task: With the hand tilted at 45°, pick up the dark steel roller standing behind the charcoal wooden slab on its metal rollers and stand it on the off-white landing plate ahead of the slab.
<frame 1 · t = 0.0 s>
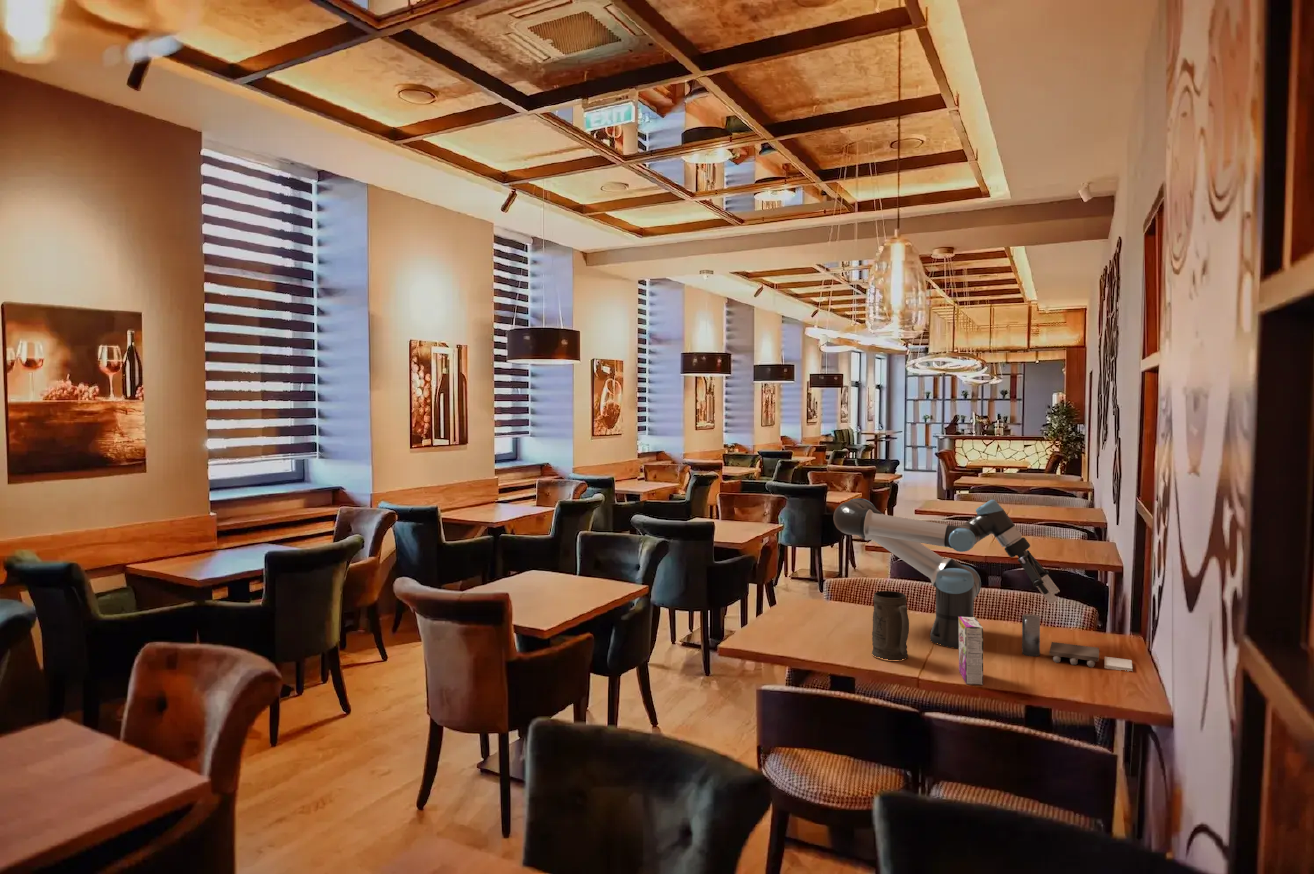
hand: (1055, 597, 252), 15 cm above the table, tool tilted 35°, fingers open, 13 cm apart
roller slab: (1074, 659, 236), on the table
candy bar box: (970, 679, 220), on the table
beer stein: (894, 659, 239), on the table
landing plate: (1118, 665, 230), on the table
steel roller: (1030, 654, 242), on the table
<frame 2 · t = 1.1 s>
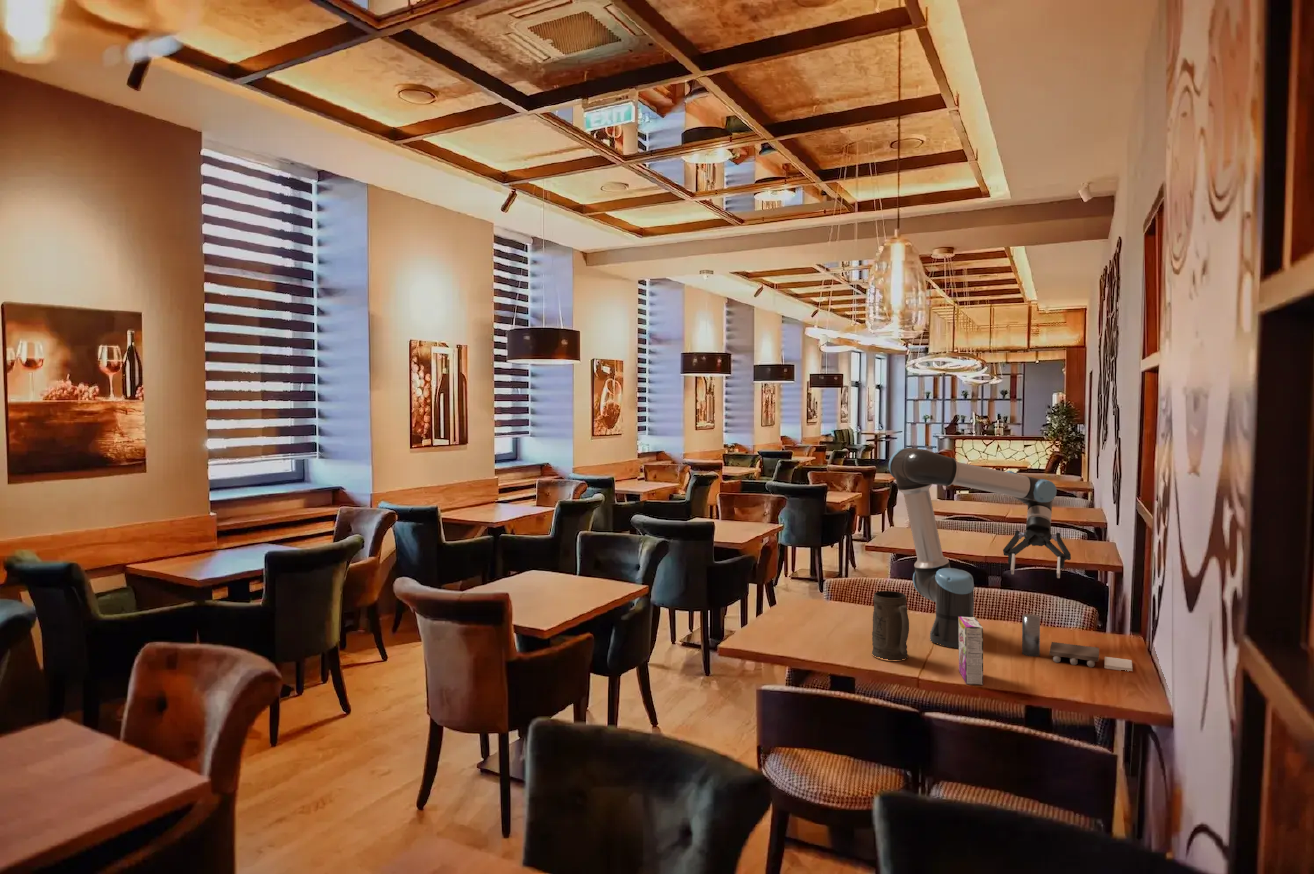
hand: (1034, 573, 253), 23 cm above the table, tool tilted 45°, fingers open, 13 cm apart
nothing on the table moved.
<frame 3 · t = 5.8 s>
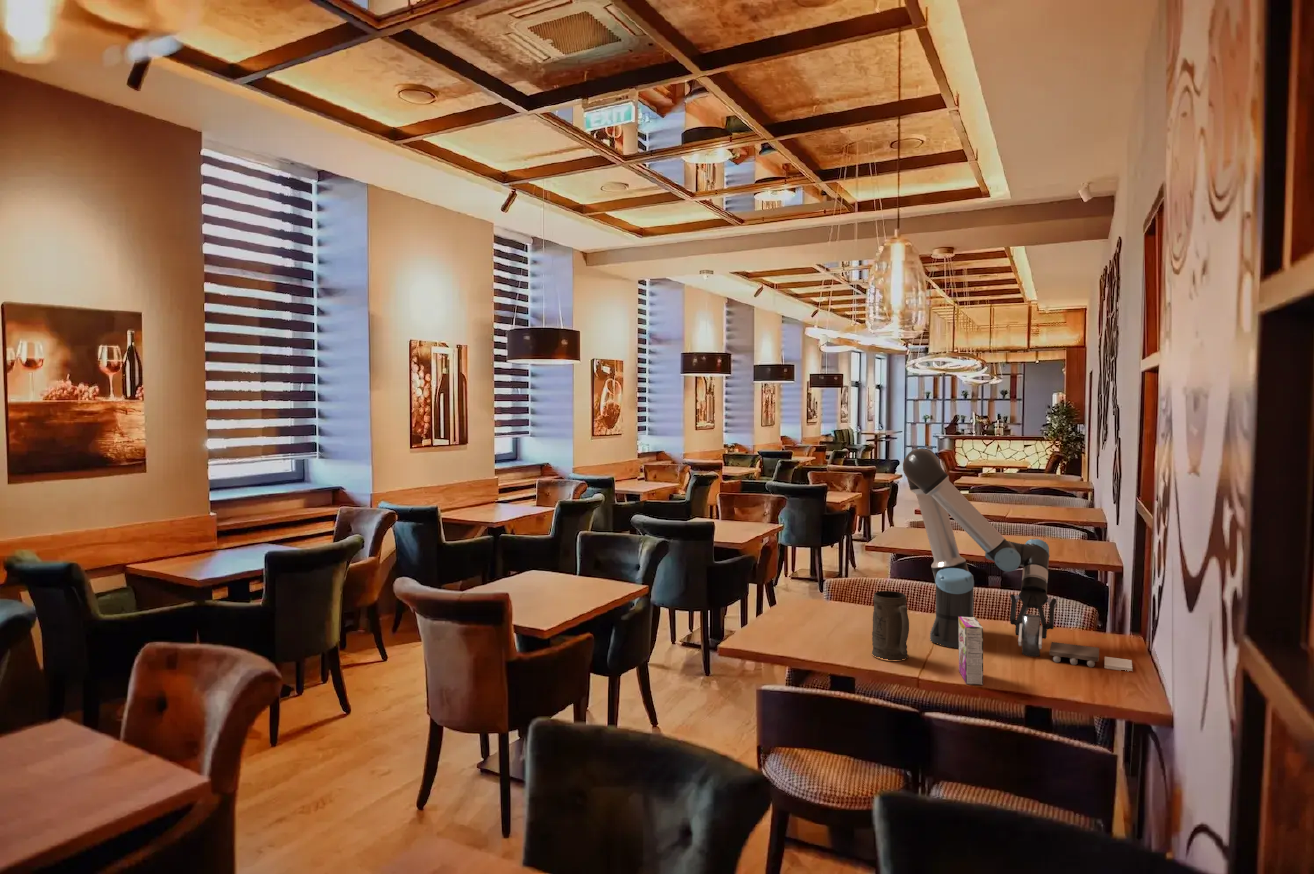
hand: (1029, 645, 239), 4 cm above the table, tool tilted 45°, fingers closed on steel roller, 5 cm apart
steel roller: (1030, 654, 242), on the table, touching gripper
everything else where it was.
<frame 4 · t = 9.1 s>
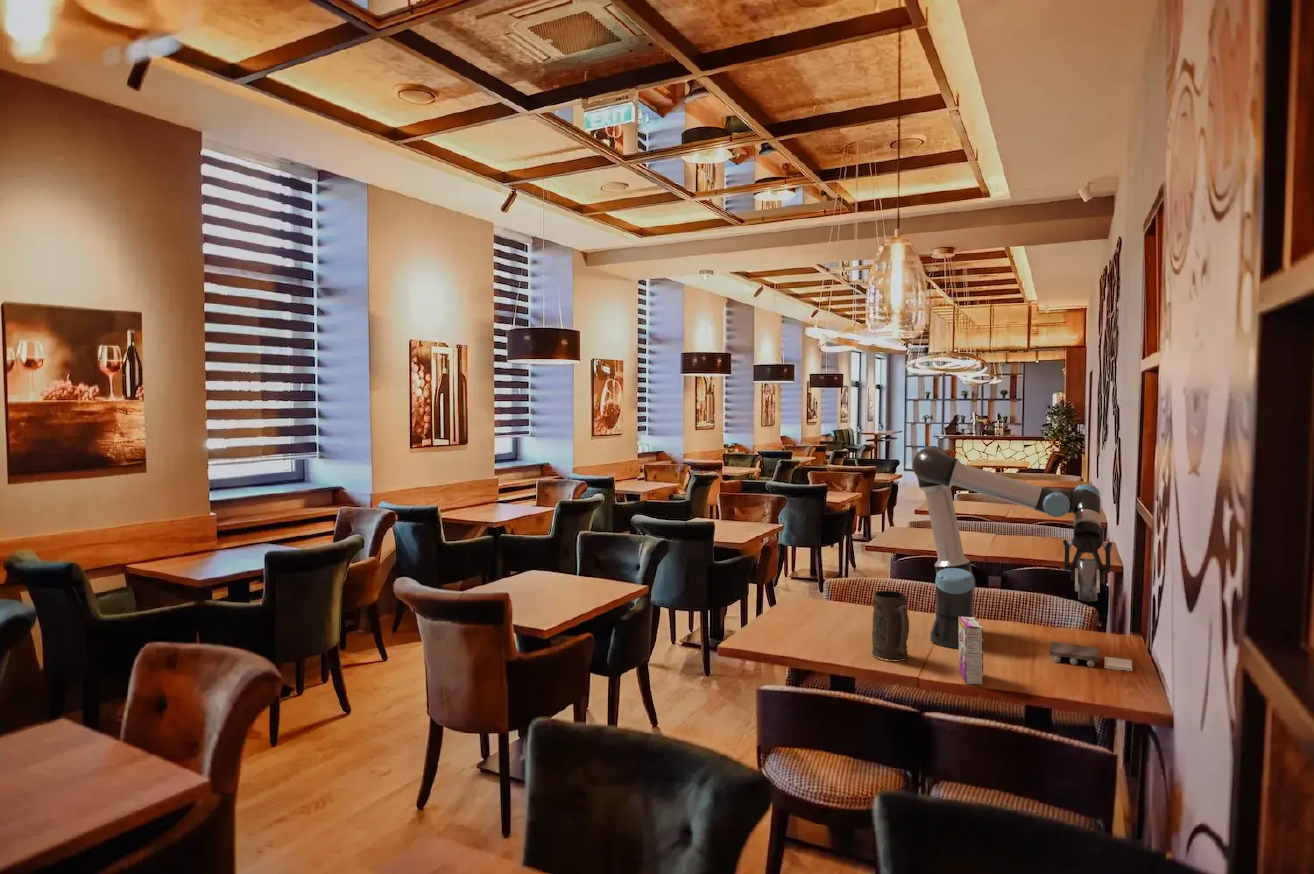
hand: (1087, 589, 231), 23 cm above the table, tool tilted 45°, fingers closed on steel roller, 5 cm apart
steel roller: (1087, 599, 234), point 19 cm above the table, touching gripper
everything else where it was.
when the fingers open (6 cm above the table, at t = 12.7 s): steel roller drops 1 cm, resting on landing plate.
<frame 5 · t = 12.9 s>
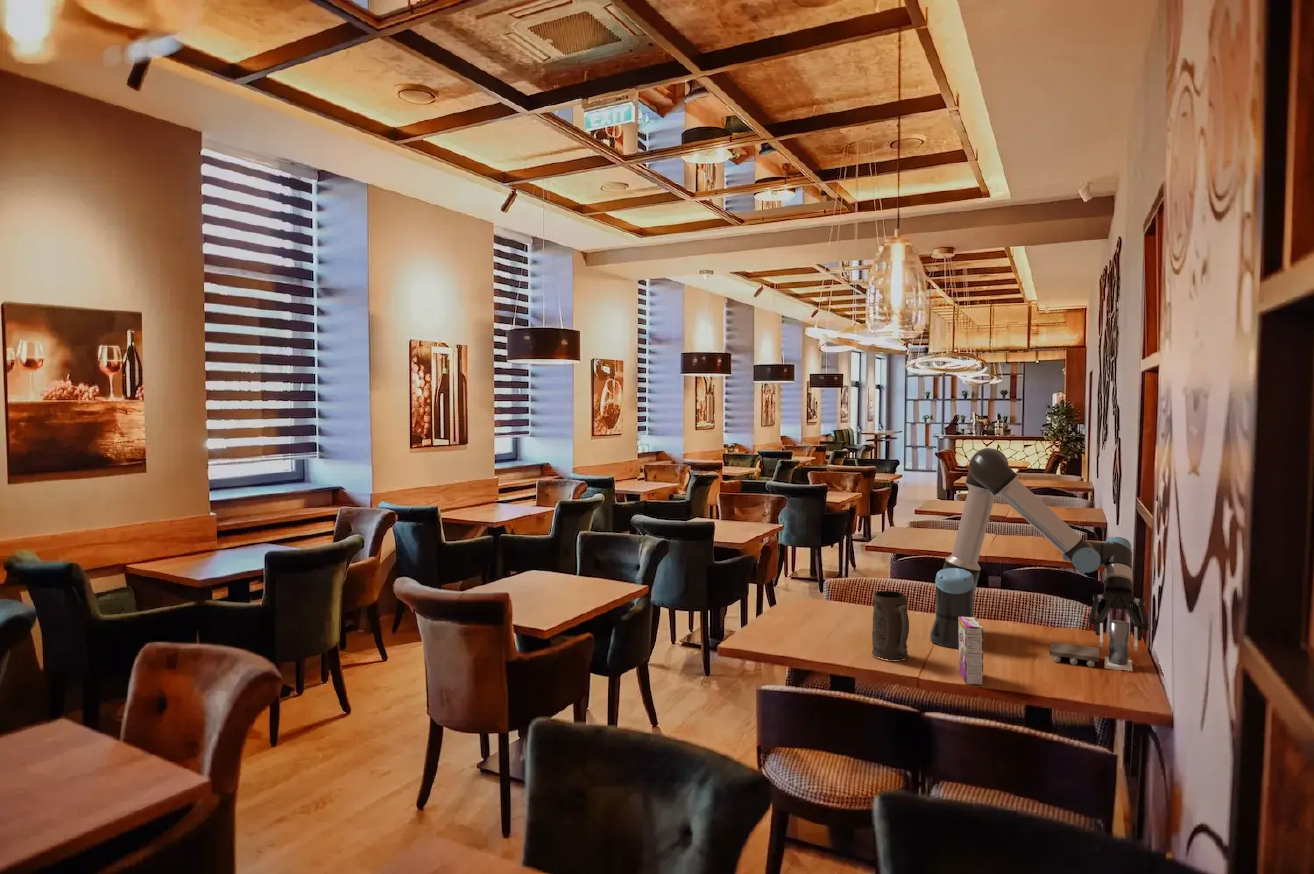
hand: (1118, 646, 227), 7 cm above the table, tool tilted 45°, fingers open, 8 cm apart
steel roller: (1117, 662, 230), point 1 cm above the table, touching landing plate
everything else where it was.
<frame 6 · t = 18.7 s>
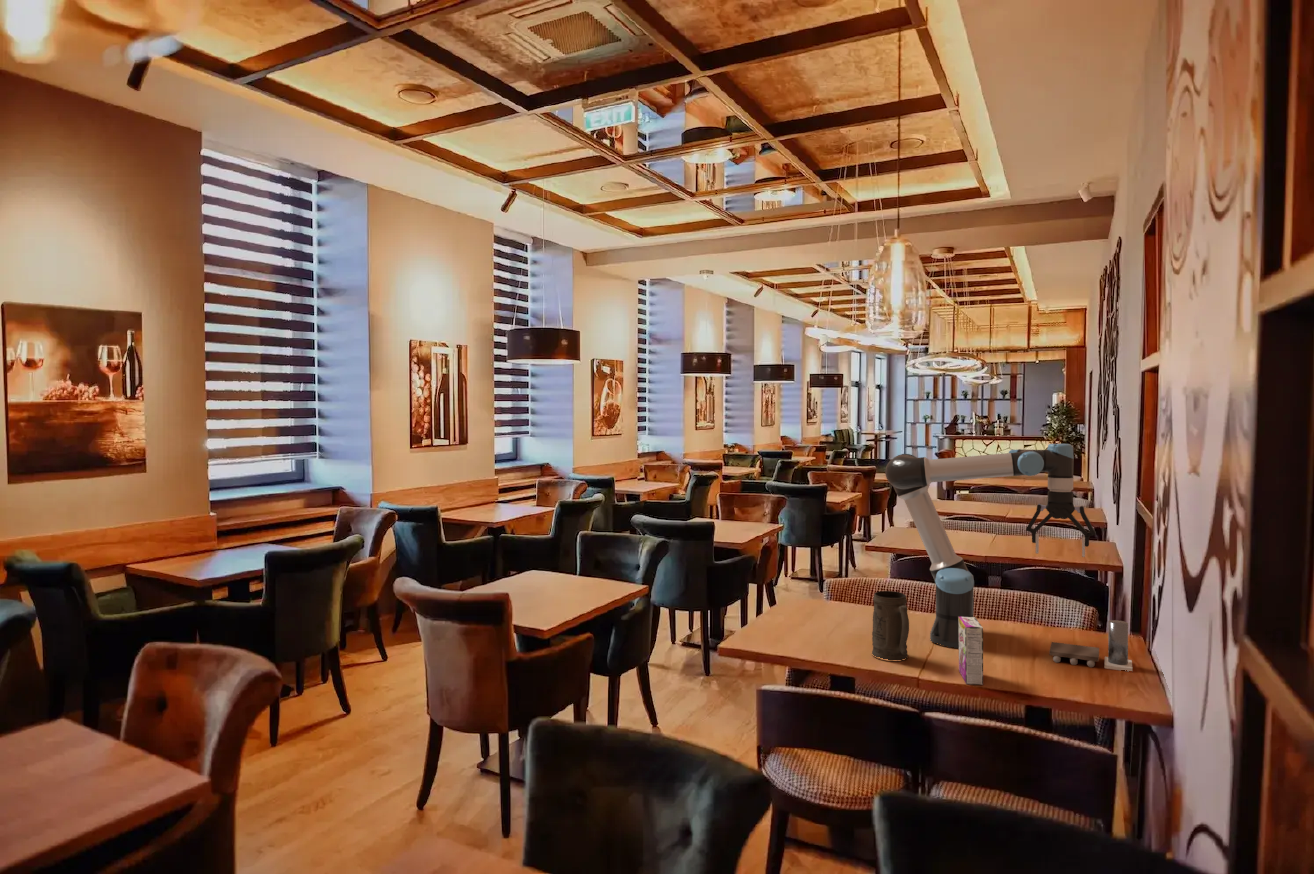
hand: (1060, 554, 255), 29 cm above the table, tool pointing down, fingers open, 13 cm apart
nothing on the table moved.
at the end: steel roller 0.1 cm from the target spot, point 1.0 cm above the table; steel roller tilted 0°; the gripper is holding nothing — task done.
